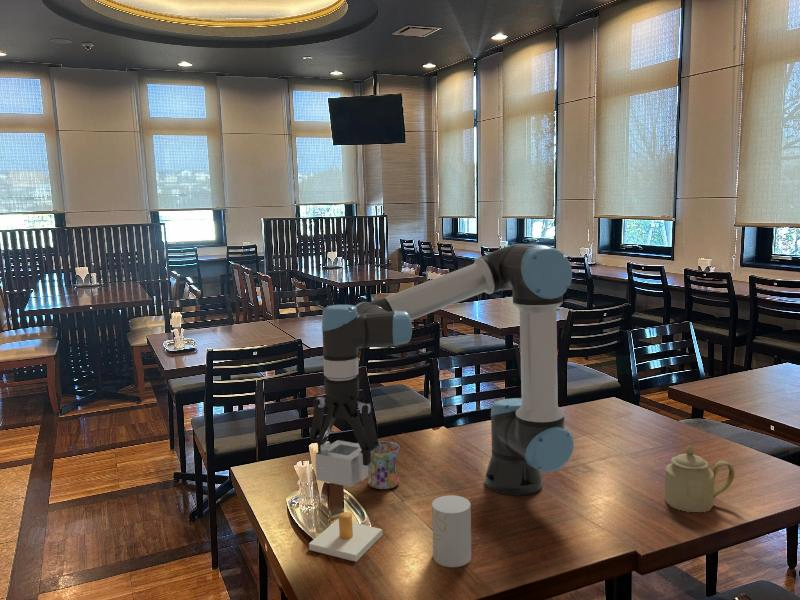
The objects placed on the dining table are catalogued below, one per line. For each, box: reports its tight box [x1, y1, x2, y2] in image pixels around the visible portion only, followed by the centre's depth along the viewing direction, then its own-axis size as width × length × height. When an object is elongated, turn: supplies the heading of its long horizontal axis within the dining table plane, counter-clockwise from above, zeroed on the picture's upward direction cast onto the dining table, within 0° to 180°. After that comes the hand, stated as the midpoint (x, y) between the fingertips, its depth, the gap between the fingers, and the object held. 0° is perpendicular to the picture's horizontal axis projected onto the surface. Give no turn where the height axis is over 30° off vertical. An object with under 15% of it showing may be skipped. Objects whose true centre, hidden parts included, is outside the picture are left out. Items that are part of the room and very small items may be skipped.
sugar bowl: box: [664, 444, 735, 513], centre depth 157 cm, size 15×11×15 cm
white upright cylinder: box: [431, 494, 472, 568], centre depth 136 cm, size 8×8×12 cm
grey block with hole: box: [315, 439, 372, 488], centre depth 141 cm, size 9×9×6 cm
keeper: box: [308, 511, 383, 563], centre depth 143 cm, size 12×12×6 cm
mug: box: [367, 440, 401, 490], centre depth 173 cm, size 12×9×11 cm
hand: (344, 474), depth 141 cm, fingers closed on grey block with hole, 9 cm apart
